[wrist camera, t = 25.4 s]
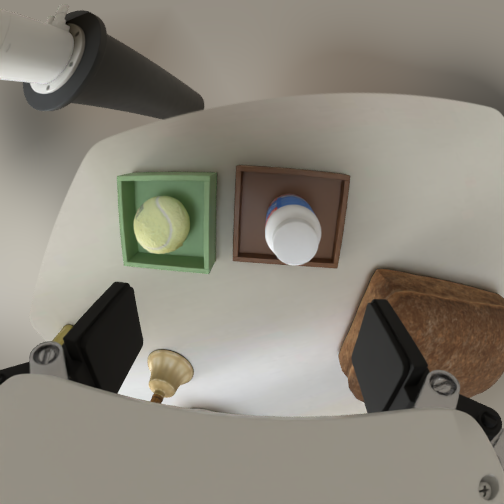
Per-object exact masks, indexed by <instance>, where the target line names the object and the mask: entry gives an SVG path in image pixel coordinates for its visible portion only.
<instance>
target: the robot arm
mask: <svg viewBox="0 0 504 504" xmlns="http://www.w3.org/2000/svg"><path fill="white" fill-rule="evenodd" d="M68 7H69V6H68V5H66V4H64V5H60V6H59V7H58V9H57V13H56V18H55V17H54V16H49V17H48V18H47V22H46V23H44V22H41V21H39V20H36V19H33V18H30V17H27V16H24V15H21V14H17V13H13V12H10V11H7V10H3V9H0V80H11V81H22V82H30V85H31V87H32V89H33V90H34V91H35V92H37V93H41V94H48V93H52V92H54V91H56V90H58V89H59V88H60V87H62V86H63V85H64V84H65V83H66V82H67V81H68V80H69V78H70V77H71V76H72V75H73V73H74V72H75V70H76V69H77V67H78V65H79V63H80V61H81V58H82V55H83V52H84V48H85V34H84V31H83V30H82V28H81V27H79V26H77V25H75V24H70V23H68V24H65V23H66V20H65V16H66V14H67V11H68ZM54 18H55V20H54ZM63 340H64V343H63V345H62V346H61V345H60V344H59V343H57V342H53V341H48V342H43V343H40V344H39V345H37V346H36V347H35V348H34V349H33V350H32V351H31V353H30V357H29V359H30V361H29V362H27V363H24V364H20V365H17V366H13V367H9V368H6V369H3V370H0V504H504V429H502V421H501V418H500V416H499V414H498V413H497V412H496V411H495V410H493V409H492V408H490V407H487V406H485V405H483V404H481V403H478V402H476V401H474V400H472V399H470V398H467V397H465V396H463V395H461V394H459V393H460V384H459V381H458V380H457V379H456V377H455V376H453V375H452V374H451V373H449V372H447V371H444V370H434V371H431V372H430V371H429V369H428V368H427V367H428V364H427V362H426V360H425V358H424V357H423V355H422V353H421V352H420V350H419V348H418V347H417V345H416V344H415V342H414V340H413V339H412V337H411V336H410V334H409V332H408V331H407V329H406V328H405V326H404V325H403V323H402V321H401V320H400V318H399V317H398V315H397V314H396V312H395V311H394V309H393V308H392V306H391V305H390V303H389V302H388V300H386V299H373V300H372V301H371V303H368V304H367V306H366V310H365V313H364V317H363V320H362V324H361V327H360V330H359V334H358V337H357V340H356V343H355V346H354V349H353V352H352V364H353V367H354V370H355V373H356V377H357V380H358V383H359V386H360V389H361V393H362V396H363V399H364V403H365V406H366V409H367V413H366V414H354V415H340V416H320V417H275V416H253V415H239V414H228V413H218V412H210V411H202V410H195V409H188V408H182V407H176V406H170V405H165V404H159V403H154V402H150V401H145V400H141V399H136V398H132V397H128V396H124V395H120V394H117V393H118V391H119V389H120V387H121V385H122V384H123V382H124V380H125V378H126V376H127V374H128V372H129V370H130V368H131V367H132V365H133V363H134V361H135V359H136V357H137V356H138V354H139V352H140V350H141V348H142V346H143V337H142V332H141V327H140V322H139V317H138V312H137V306H136V301H135V295H134V289H133V288H132V287H130V285H129V284H128V283H123V282H114V283H113V284H112V285H111V286H110V287H109V288H108V289H107V290H106V291H105V292H104V294H103V295H102V296H101V297H100V298H99V299H98V300H97V301H96V302H95V303H94V304H93V305H92V306H91V307H90V308H89V309H88V311H87V312H86V313H85V314H84V315H83V316H82V317H81V318H80V319H79V320H78V321H77V323H76V324H75V325H74V326H73V327H72V328H71V329H70V330H69V332H68V333H67V334H66V335H65V336H64V337H63Z"/></svg>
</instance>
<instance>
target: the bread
mask: <svg viewBox="0 0 504 504" xmlns="http://www.w3.org/2000/svg"><path fill="white" fill-rule="evenodd" d="M373 299H386V300H388V302H389V303H390V305H391V306H392V308H393V309H394V311H395V312H396V314H397V315H398V317H399V318H400V320H401V321H402V323H403V325H404V326H405V328H406V329H407V331H408V332H409V334H410V336H411V337H412V339H413V340H414V342H415V344H416V345H417V347H418V348H419V350H420V352H421V353H422V355H423V357H424V358H425V360H426V362H427V364H428V367H427V368H428V369H429V371H430V372H431V371H434V370H444V371H447V372H449V373H451V374H452V375H453V376H455V377H456V379H457V380H458V381H459V384H460V393H459V394H461V395H463V396H465V397H467V398H470V397H472V396H474V395H476V394H479V393H482V392H484V391H486V390H487V389H489V388H490V387H491V386H492V385H493V384H495V383H496V382H497V380H498V379H499V378H500V377H501V375H502V374H503V372H504V298H503V297H502V296H500V295H499V294H497V293H492V292H488V291H485V290H481V289H478V288H474V287H470V286H466V285H463V284H458V283H453V282H450V281H445V280H439V279H436V278H432V277H424V276H417V275H413V274H409V273H405V272H399V271H394V270H388V269H377V270H376V272H375V273H374V275H373V276H372V278H371V281H370V283H369V286H368V288H367V291H366V293H365V295H364V297H363V299H362V301H361V303H360V306H359V308H358V311H357V313H356V316H355V318H354V321H353V323H352V325H351V328H350V330H349V332H348V334H347V337H346V339H345V341H344V343H343V346H342V348H341V350H340V353H339V361H340V365H341V368H342V371H343V372H344V374H345V375H346V376H347V377H348V383H349V388H350V390H351V391H352V393H353V394H354V396H355V397H356V398H357V399H358V400H360V401H362V402H364V399H363V396H362V393H361V389H360V386H359V383H358V380H357V377H356V373H355V370H354V367H353V364H352V352H353V349H354V346H355V343H356V340H357V337H358V334H359V330H360V327H361V324H362V320H363V317H364V313H365V310H366V306H367V304H368V303H371V301H372V300H373Z"/></svg>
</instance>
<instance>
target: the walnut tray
mask: <svg viewBox="0 0 504 504" xmlns="http://www.w3.org/2000/svg"><path fill="white" fill-rule="evenodd" d="M349 183H350V176H349V175H346V174H340V173H332V172H323V171H314V170H304V169H293V168H281V167H267V166H250V165H237V166H236V182H235V207H234V235H233V261H240V262H253V263H267V264H281V265H288V264H286V263H284V262H282V261H281V260H279V259H278V257H277V256H276V255H275V253H274V252H273V251H272V250H271V249H270V248H269V246H268V244H267V241H266V237H265V225H266V214H267V210H268V207H269V206H270V204H271V203H272V201H273V200H274V199H276V198H277V197H279V196H281V195H285V194H294V195H298V196H300V197H302V198H303V199H304V200H306V202H307V203H308V204H309V205H310V207H311V209H312V210H313V212H314V213H315V215H316V217H317V218H318V221H319V223H320V226H321V239H320V242H319V245H318V250H317V252H316V254H315V255H314V257H313V258H312V259H311V260H310V261H308V262H306V263H304V264H302V265H295V266H310V267H325V268H337V267H338V261H339V256H340V249H341V243H342V237H343V230H344V223H345V216H346V208H347V201H348V192H349Z"/></svg>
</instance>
